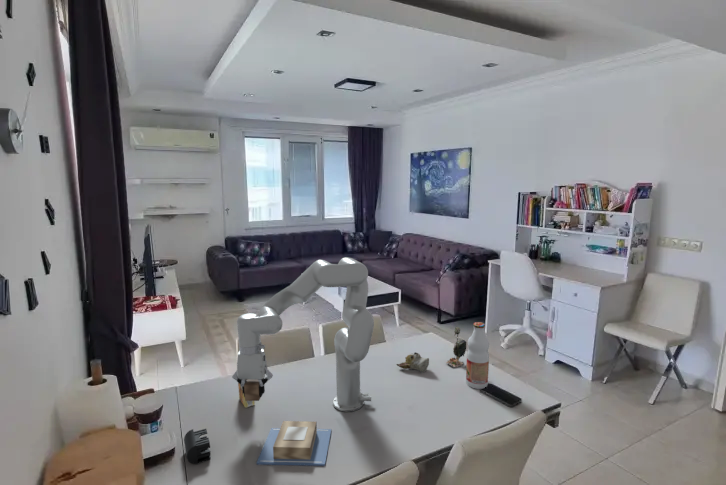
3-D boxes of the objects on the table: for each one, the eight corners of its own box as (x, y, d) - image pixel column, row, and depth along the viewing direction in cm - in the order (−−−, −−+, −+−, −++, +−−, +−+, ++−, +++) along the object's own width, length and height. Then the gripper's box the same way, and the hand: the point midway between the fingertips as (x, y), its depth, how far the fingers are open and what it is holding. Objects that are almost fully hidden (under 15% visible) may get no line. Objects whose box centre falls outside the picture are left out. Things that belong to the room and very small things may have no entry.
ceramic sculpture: (424, 359, 182) (395, 353, 190) (424, 377, 183) (396, 370, 191) (433, 351, 191) (405, 346, 199) (433, 368, 192) (406, 362, 200)
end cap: (184, 449, 135) (183, 431, 134) (207, 443, 138) (205, 425, 137) (187, 468, 126) (185, 448, 125) (211, 460, 130) (209, 441, 128)
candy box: (255, 405, 161) (253, 369, 159) (244, 408, 159) (242, 372, 156) (248, 395, 168) (246, 361, 166) (238, 398, 166) (236, 364, 164)
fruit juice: (479, 391, 170) (482, 329, 166) (461, 383, 178) (463, 323, 173) (492, 384, 176) (495, 324, 172) (474, 376, 183) (476, 318, 179)
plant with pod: (471, 364, 195) (472, 325, 192) (452, 369, 191) (453, 329, 188) (460, 358, 203) (462, 320, 200) (442, 362, 198) (443, 323, 195)
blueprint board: (331, 430, 144) (331, 429, 144) (324, 465, 127) (324, 463, 127) (271, 429, 145) (271, 427, 145) (256, 464, 127) (256, 462, 127)
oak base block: (316, 433, 143) (316, 421, 142) (310, 461, 129) (309, 447, 128) (283, 433, 143) (283, 420, 142) (273, 460, 129) (273, 446, 129)
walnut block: (262, 393, 148) (261, 378, 147) (258, 400, 143) (257, 385, 142) (249, 393, 148) (248, 378, 147) (245, 400, 144) (243, 385, 143)
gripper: (276, 343, 146) (279, 389, 149) (230, 344, 147) (234, 389, 150) (271, 352, 139) (274, 400, 142) (223, 353, 139) (227, 400, 142)
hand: (253, 394), depth 146 cm, fingers closed on walnut block, 5 cm apart
